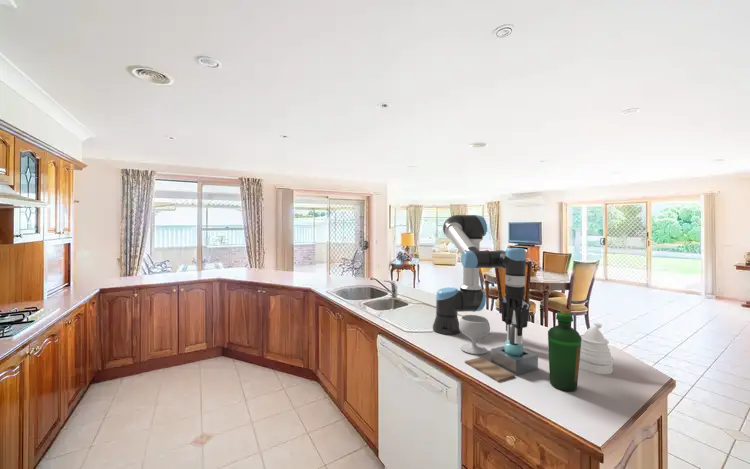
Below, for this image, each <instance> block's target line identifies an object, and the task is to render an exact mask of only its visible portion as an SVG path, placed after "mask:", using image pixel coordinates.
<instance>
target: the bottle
mask: <svg viewBox="0 0 750 469" xmlns="http://www.w3.org/2000/svg"><path fill="white" fill-rule="evenodd" d="M555 319H556V320H557V325H555V326H552V327H550V329H549V330H548V331H547V342H548V343H547V344H548V364H549V366H548V367H549V369H548V370H549V384H550V385H551V386H553V387H554V388H556V389H557V390H561V391H565V392H574V391H576V390H578V382H579V371H580V370H579V369H580V368H579V361H580V350H581V340H582V339H581V336H580V335H581V334H580V332H578V331H577V330H576V329H575V328H573V327H572V322H574V318H573V313H571V310H570V309H567V308H559V311H557V313H556V316H555Z"/></svg>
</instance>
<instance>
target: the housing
mask: <svg viewBox="0 0 750 469" xmlns="http://www.w3.org/2000/svg"><path fill="white" fill-rule="evenodd" d="M504 348H505V345H503V346H498V347H494V348H491V350H490V362H491V363H493V364H495V365H497V366H499V367H500V368H502V369H504V370H506V371H508V372H510V373H512V374H514V375H515V377H517V376H520V375H523V374H527V373H530V372H531V373H532V372H534V371H538V369H539V355H538V354H536V353H533V351H529V350H527V349H525V348H523V355H522V356H518V357H514V356H512V355H510V354H507V353H505V352H504Z"/></svg>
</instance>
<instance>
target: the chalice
mask: <svg viewBox="0 0 750 469" xmlns="http://www.w3.org/2000/svg"><path fill="white" fill-rule="evenodd" d="M459 329H460V333H461V334H463V335H464V336H465V337H467V338H468V339H470V340H471V343H466V344H463V345H461V346H460V349H461V350H462V351H463V352H465V353H467V354H471V355H485V354H487V353H488V352H489V351H488V349H487V348H486V347H485V346H483V345H479V344H477V341H478V340H479V339H482V338H485V337H487V336H488V335H489V334H490V332H491V326H490V322H489V320H488V318H486V317H485V316H481V315H478V314H477V315H476V314H466V315H462V316H461V317H460V319H459Z"/></svg>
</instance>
